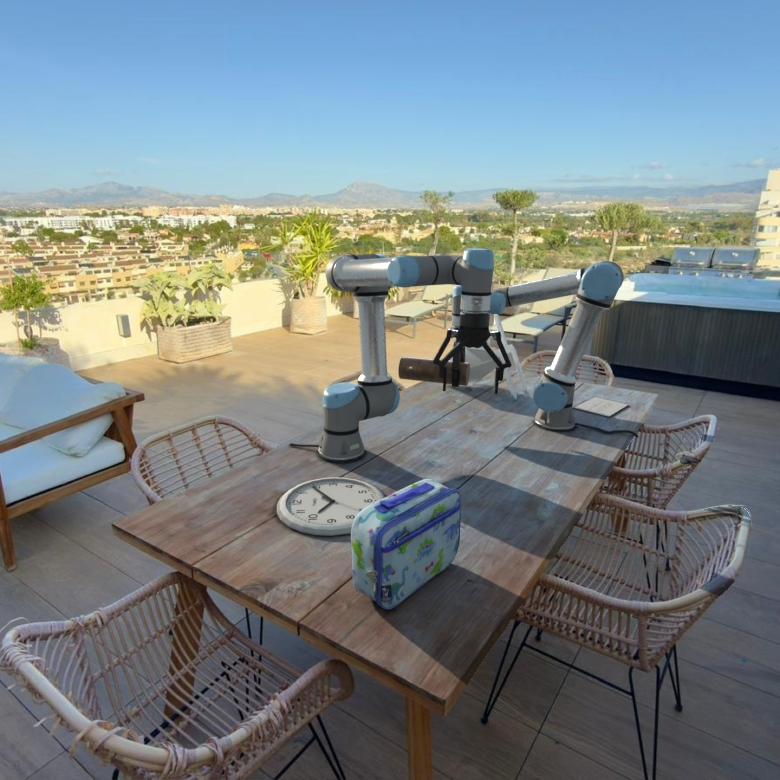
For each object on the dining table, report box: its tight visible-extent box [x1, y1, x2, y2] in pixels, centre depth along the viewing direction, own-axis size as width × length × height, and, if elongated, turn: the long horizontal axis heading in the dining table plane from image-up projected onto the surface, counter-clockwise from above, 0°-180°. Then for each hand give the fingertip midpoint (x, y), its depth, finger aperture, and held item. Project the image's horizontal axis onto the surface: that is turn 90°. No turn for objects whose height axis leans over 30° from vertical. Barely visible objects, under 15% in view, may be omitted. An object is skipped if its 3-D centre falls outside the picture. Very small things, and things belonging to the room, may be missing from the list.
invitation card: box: [573, 396, 629, 418], centre depth 226 cm, size 21×1×15 cm
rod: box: [397, 356, 470, 387], centre depth 206 cm, size 27×9×9 cm, turn 73°
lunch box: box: [350, 478, 462, 611], centre depth 110 cm, size 26×11×21 cm, turn 135°
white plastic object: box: [446, 314, 531, 400], centre depth 245 cm, size 37×45×31 cm
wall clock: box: [276, 476, 386, 537], centre depth 142 cm, size 30×2×30 cm
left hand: (469, 391), depth 139 cm, fingers open, 13 cm apart
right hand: (457, 383), depth 205 cm, fingers closed on rod, 9 cm apart
